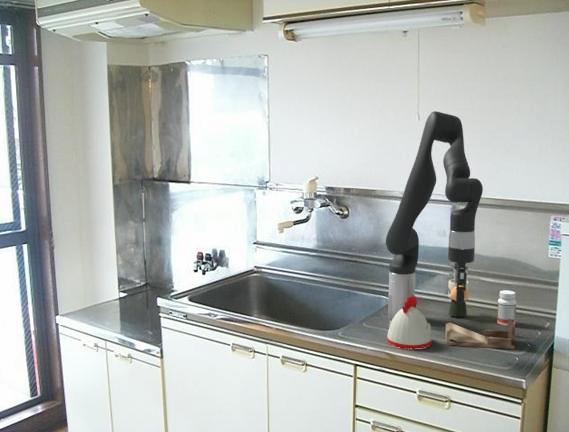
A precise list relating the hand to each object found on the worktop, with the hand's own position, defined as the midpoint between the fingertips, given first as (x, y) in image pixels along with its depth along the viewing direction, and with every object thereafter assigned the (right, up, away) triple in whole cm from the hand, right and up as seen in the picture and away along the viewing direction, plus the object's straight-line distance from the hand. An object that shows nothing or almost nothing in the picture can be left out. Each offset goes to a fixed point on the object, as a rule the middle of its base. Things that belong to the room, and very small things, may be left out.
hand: (459, 300), depth 189 cm
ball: (0, +2, 0) cm, 2 cm away
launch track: (+9, -17, +12) cm, 23 cm away
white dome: (-13, -15, +13) cm, 24 cm away
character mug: (+10, -11, +39) cm, 42 cm away
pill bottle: (+25, -12, +30) cm, 41 cm away
